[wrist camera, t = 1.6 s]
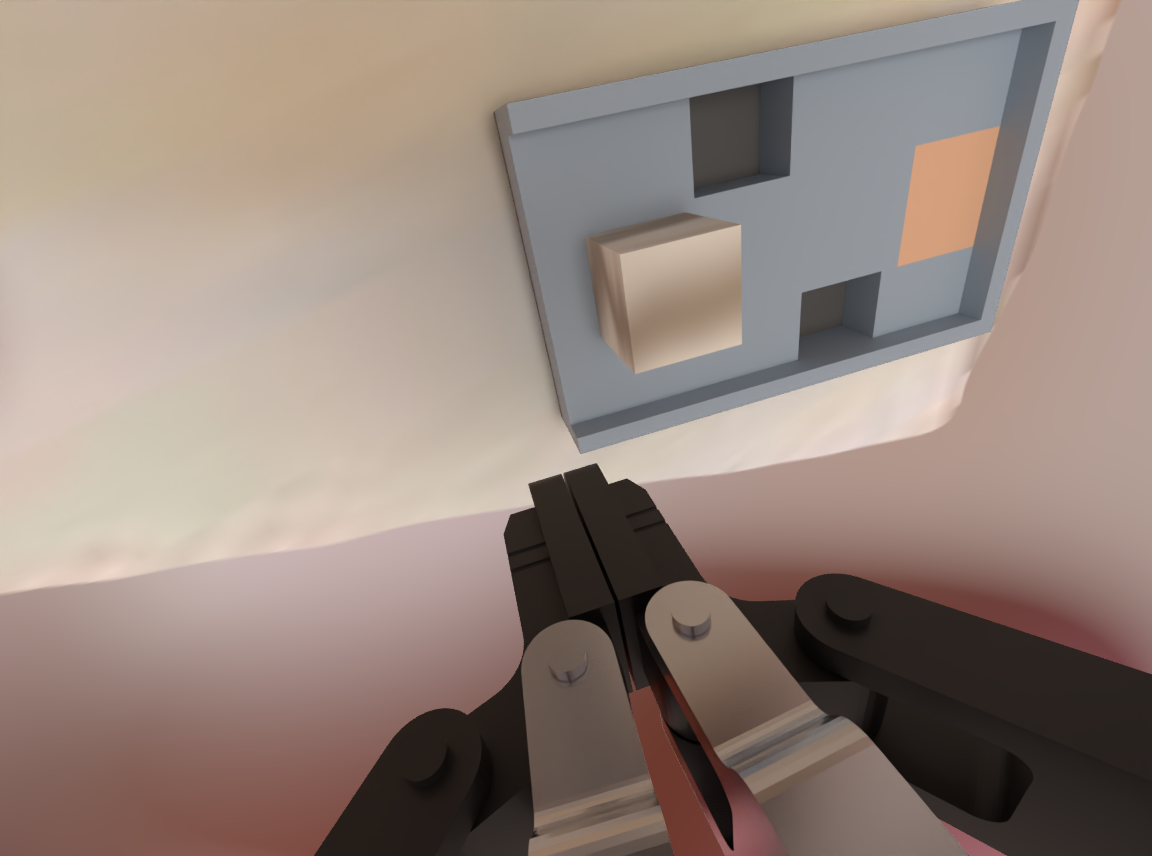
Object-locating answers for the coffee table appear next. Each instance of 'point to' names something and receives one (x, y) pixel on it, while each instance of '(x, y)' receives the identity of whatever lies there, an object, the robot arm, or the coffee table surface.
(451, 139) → the coffee table surface
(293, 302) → the coffee table surface
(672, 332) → the cream cube
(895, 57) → the track
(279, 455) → the coffee table surface
